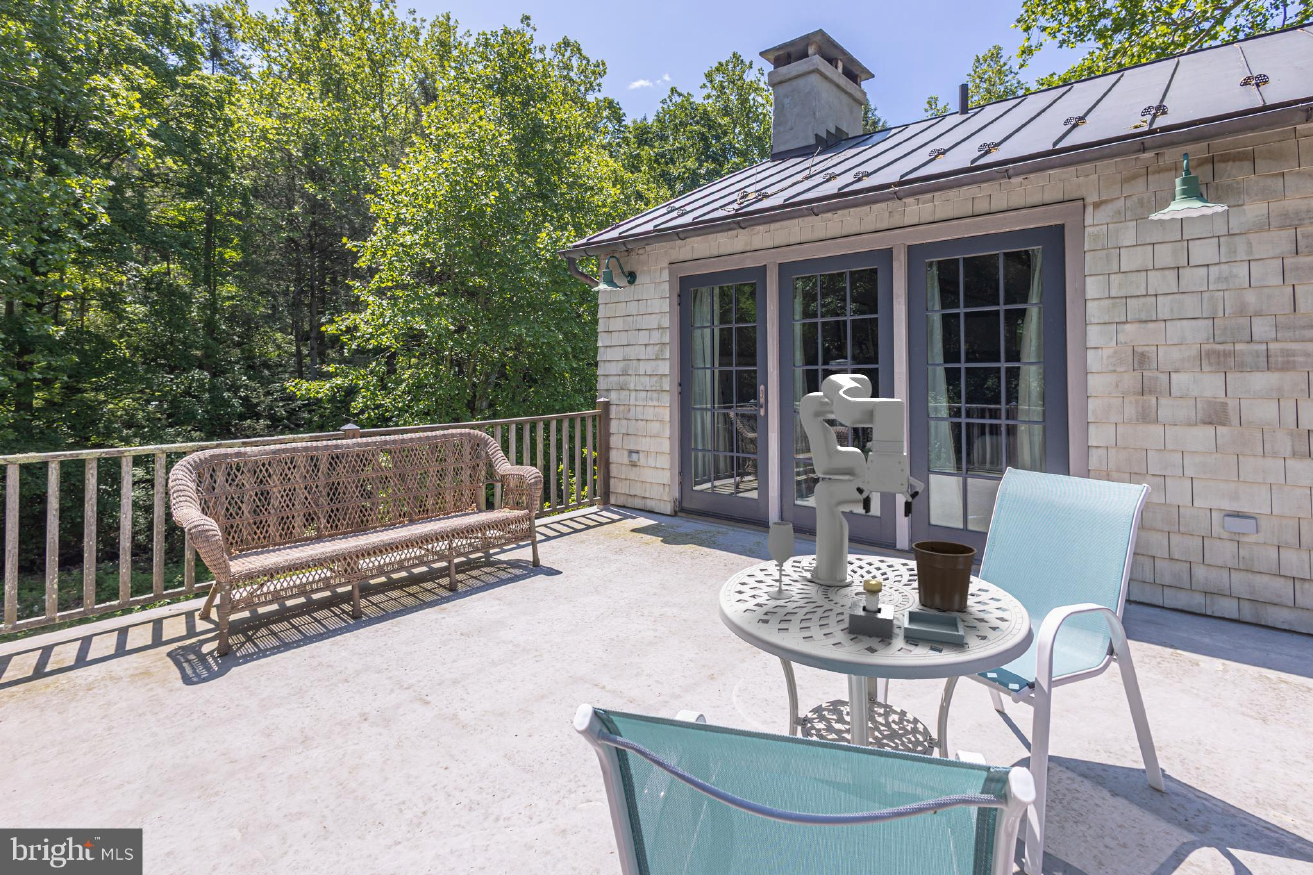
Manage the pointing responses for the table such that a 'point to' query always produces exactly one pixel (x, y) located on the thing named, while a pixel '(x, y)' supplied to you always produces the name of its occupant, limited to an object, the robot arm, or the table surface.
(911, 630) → the tray
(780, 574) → the wineglass
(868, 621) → the block
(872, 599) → the pin
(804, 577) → the table surface
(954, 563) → the plant pot
